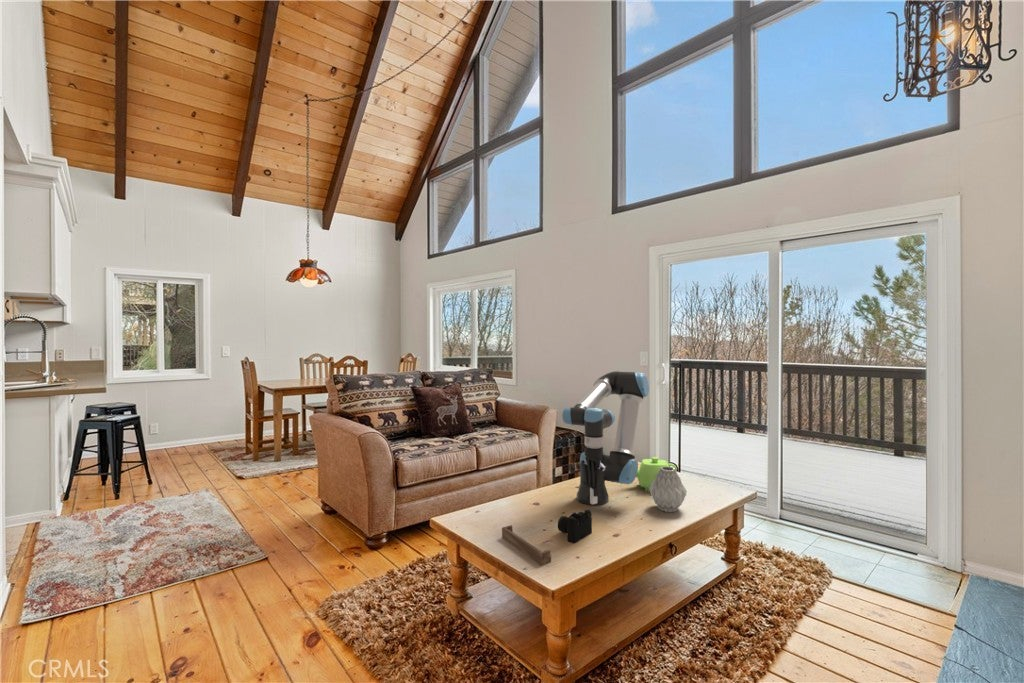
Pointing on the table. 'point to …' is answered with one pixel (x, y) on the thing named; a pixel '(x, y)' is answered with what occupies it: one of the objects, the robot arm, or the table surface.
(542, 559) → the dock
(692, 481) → the table surface
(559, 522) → the camera
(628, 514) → the table surface
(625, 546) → the table surface
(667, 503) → the vase
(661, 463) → the teapot
